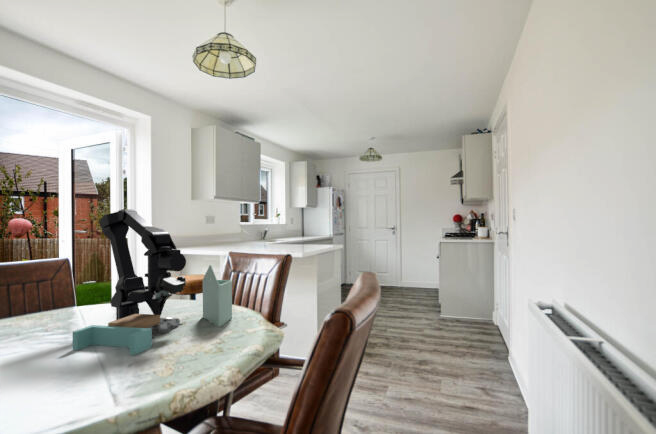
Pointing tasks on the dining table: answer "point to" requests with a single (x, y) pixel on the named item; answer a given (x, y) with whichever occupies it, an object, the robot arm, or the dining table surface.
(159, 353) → the dining table surface
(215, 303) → the planter
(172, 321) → the roller rear
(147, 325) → the slab
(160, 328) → the roller front
